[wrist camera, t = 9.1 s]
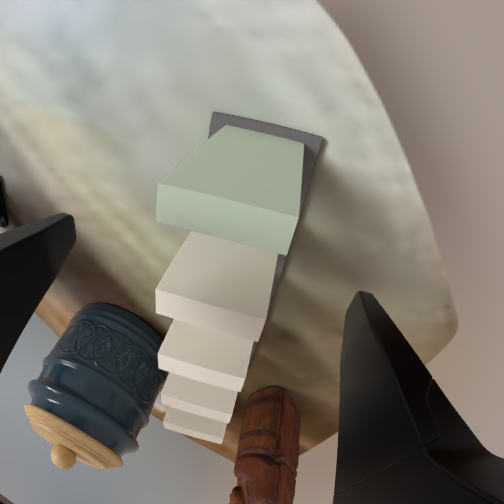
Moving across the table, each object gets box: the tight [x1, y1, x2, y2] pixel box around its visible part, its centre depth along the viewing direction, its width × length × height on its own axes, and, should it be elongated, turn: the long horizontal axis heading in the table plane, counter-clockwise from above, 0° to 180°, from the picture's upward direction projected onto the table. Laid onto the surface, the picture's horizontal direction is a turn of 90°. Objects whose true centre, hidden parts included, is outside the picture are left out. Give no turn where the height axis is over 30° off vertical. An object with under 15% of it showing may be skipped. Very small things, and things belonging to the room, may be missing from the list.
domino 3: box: [158, 319, 254, 392], centre depth 21 cm, size 5×2×10 cm, turn 78°
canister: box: [24, 303, 168, 469], centre depth 27 cm, size 13×13×18 cm
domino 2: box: [155, 231, 278, 342], centre depth 18 cm, size 5×2×10 cm, turn 79°
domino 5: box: [163, 406, 227, 444], centre depth 27 cm, size 5×2×10 cm, turn 79°
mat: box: [208, 112, 323, 370], centre depth 26 cm, size 7×24×1 cm, turn 169°
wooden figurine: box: [229, 387, 300, 504], centre depth 30 cm, size 12×6×18 cm, turn 18°
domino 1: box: [156, 125, 304, 256], centre depth 15 cm, size 5×2×10 cm, turn 78°
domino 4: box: [161, 372, 238, 423], centre depth 24 cm, size 5×2×10 cm, turn 78°
